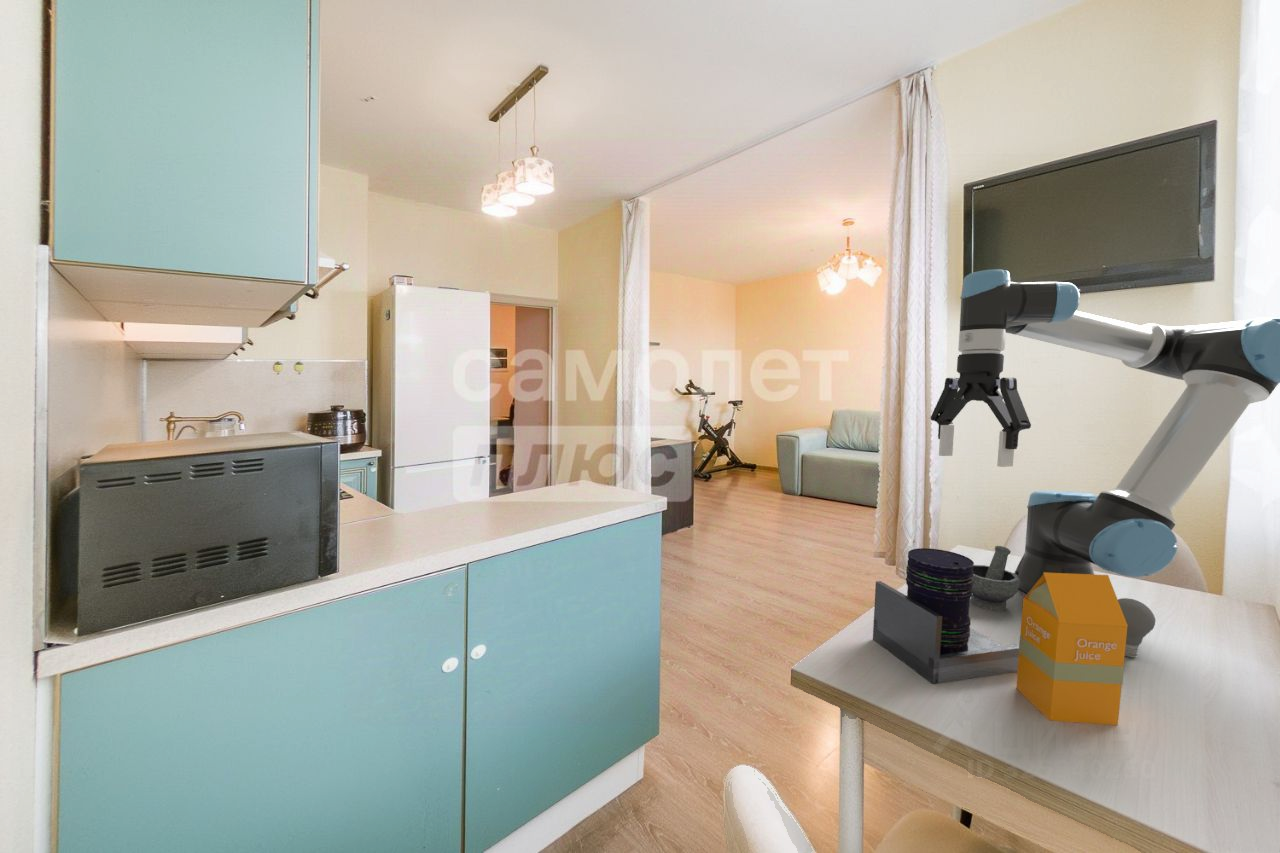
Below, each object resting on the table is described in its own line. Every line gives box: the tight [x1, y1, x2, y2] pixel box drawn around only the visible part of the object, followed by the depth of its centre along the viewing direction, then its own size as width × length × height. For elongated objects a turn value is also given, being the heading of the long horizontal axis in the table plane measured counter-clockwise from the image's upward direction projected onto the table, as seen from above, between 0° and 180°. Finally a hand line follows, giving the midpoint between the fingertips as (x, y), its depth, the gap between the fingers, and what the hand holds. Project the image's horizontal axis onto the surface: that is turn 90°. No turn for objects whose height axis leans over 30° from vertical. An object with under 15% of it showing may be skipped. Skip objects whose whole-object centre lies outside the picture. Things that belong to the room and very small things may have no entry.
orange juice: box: [1015, 572, 1128, 726], centre depth 73 cm, size 8×9×20 cm
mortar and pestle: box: [970, 545, 1019, 612], centre depth 107 cm, size 11×9×12 cm
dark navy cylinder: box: [905, 547, 975, 655], centre depth 86 cm, size 10×10×15 cm
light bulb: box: [1117, 597, 1156, 658], centre depth 87 cm, size 6×6×10 cm
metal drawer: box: [872, 580, 1019, 685], centre depth 87 cm, size 17×14×11 cm
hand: (973, 460), depth 100 cm, fingers open, 13 cm apart
